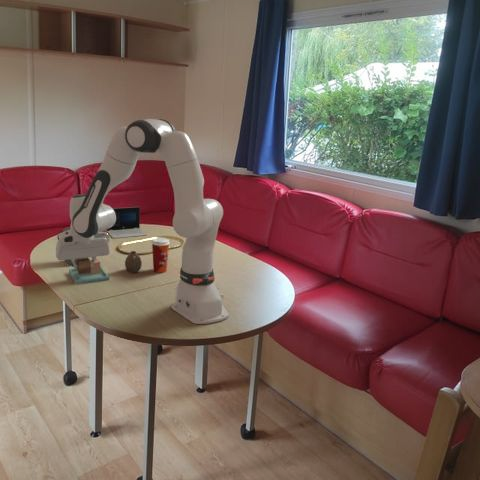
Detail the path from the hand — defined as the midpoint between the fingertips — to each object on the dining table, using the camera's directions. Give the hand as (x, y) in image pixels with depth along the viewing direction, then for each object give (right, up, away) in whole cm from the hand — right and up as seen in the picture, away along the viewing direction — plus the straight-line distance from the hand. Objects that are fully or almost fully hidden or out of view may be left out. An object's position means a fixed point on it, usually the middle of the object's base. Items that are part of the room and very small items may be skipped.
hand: (83, 267), depth 192 cm
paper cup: (+28, -2, +16) cm, 32 cm away
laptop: (+2, +14, +64) cm, 65 cm away
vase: (+17, -3, +13) cm, 22 cm away
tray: (+1, -4, +5) cm, 6 cm away
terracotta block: (+2, -2, +8) cm, 8 cm away
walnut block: (0, -2, +1) cm, 2 cm away
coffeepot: (-10, +1, +18) cm, 21 cm away
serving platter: (+19, +7, +47) cm, 51 cm away
